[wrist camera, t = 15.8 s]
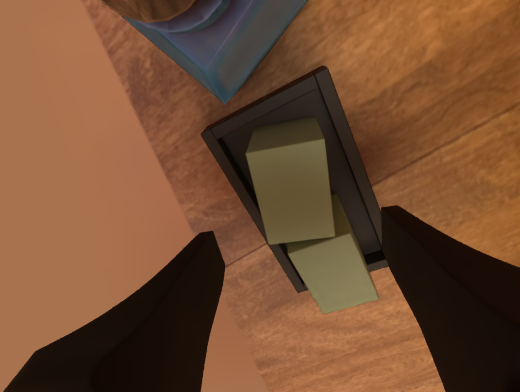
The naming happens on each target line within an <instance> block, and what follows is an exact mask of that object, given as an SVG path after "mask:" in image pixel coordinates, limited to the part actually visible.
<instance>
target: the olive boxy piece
mask: <svg viewBox="0 0 520 392" xmlns="http://www.w3.org/2000/svg"><path fill="white" fill-rule="evenodd" d="M246 157H247V161H248V165H249V169H250V173H251V177H252V181H253V185H254V189H255V193H256V196H257V200H258V204H259V208H260V212H261V216H262V220H263V224H264V228H265V232H266V236H267V240H268V244H269V245H271V244H279V243H287V242H295V241H303V240H311V239H319V238H327V237H334V236H335V228H334V219H333V210H332V201H331V192H330V183H329V174H328V165H327V156H326V147H325V139H324V137H323V134H322V132H321V130H320V127H319V125H318V123H317V121H316V118H315V116H310V117H305V118H300V119H295V120H290V121H285V122H280V123H275V124H270V125H265V126H260V127H255V128H254V131H253V134H252V137H251V140H250V143H249V145H248V148H247V151H246Z"/></svg>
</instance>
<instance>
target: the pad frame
mask: <svg viewBox="0 0 520 392" xmlns="http://www.w3.org/2000/svg"><path fill="white" fill-rule="evenodd" d="M310 116H315V118H316V121H317V123H318V125H319V127H320V130H321V132H322V134H323V137H324V139H325V147H326V156H327V165H328V174H329V183H330V192H331V195H332V194H334V193H336V194H337V195H338V198H339V200H340V202H341V205H342V207H343V209H344V212H345V214H346V216H347V218H348V221H349V223H350V225H351V228H352V230H353V232H354V235H355V237H356V239H357V241H358V244H359V246H360V248H361V251H362V253H363V256H364V259H365V261H366V264H367V267H368V269H369V272H371V271H375V270H378V269H381V268H385V267H388V266H389V265H388V263H387V260H386V258H385V255H384V252H383V249H382V227H381V211H380V209H379V206H378V203H377V201H376V198H375V195H374V192H373V190H372V187H371V184H370V181H369V179H368V176H367V173H366V171H365V168H364V165H363V162H362V160H361V157H360V154H359V152H358V149H357V146H356V143H355V141H354V138H353V135H352V133H351V130H350V127H349V124H348V122H347V119H346V116H345V114H344V111H343V108H342V105H341V103H340V100H339V97H338V95H337V92H336V89H335V86H334V84H333V81H332V78H331V75H330V73H329V70H328V68H327V67H325V66H321V67H319V68H317V69H315V70H313V71H312V72H310V73H308V74H306V75H304V76H302V77H300V78H298V79H296V80H294V81H293V82H291V83H289V84H287V85H285V86H283V87H281V88H279V89H277V90H276V91H274V92H272V93H270V94H268V95H266V96H264V97H262V98H260V99H259V100H257V101H255V102H253V103H251V104H249V105H247V106H245V107H243V108H241V109H240V110H238V111H236V112H234V113H232V114H230V115H228V116H226V117H224V118H223V119H221V120H219V121H217V122H215V123H213V124H211V125H209V126H207V127H206V128H205V130H204V131H203V132H202V133H201V136H202V138H203V139H204V141H205V143H206V144H207V146H208V147H209V149H210V151H211V152H212V154H213V156H214V157H215V159H216V160H217V162H218V164H219V165H220V167H221V169H222V170H223V172H224V173H225V175H226V177H227V178H228V180H229V182H230V183H231V185H232V187H233V188H234V190H235V191H236V193H237V195H238V196H239V198H240V200H241V201H242V203H243V204H244V206H245V208H246V209H247V211H248V213H249V214H250V216H251V217H252V219H253V221H254V222H255V224H256V226H257V227H258V229H259V230H260V232H261V234H262V235H263V237H264V239H265V240H266V242H267V244H268V240H267V236H266V232H265V228H264V224H263V220H262V216H261V212H260V208H259V204H258V200H257V196H256V193H255V189H254V185H253V181H252V177H251V173H250V169H249V165H248V161H247V157H246V151H247V148H248V145H249V143H250V140H251V137H252V134H253V131H254V128H255V127H260V126H265V125H270V124H275V123H280V122H285V121H290V120H295V119H300V118H305V117H310ZM268 245H269V244H268ZM269 247H270V248H271V250H272V252H273V253H274V255H275V257H276V258H277V260H278V261H279V263H280V265H281V266H282V268H283V270H284V271H285V273H286V274H287V276H288V278H289V279H290V281H291V283H292V284H293V286H294V287H295V289H296V291H297V292H298V293H300V292H303V291H306V290H308V288H307V286H306V284H305V283H304V281H303V279H302V278H301V276H300V274H299V273H298V271H297V269H296V267H295V266H294V264H293V262H292V261H291V259H290V257H289V255H288V242H287V243H279V244H271V245H269Z"/></svg>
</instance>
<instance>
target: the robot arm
mask: <svg viewBox="0 0 520 392" xmlns="http://www.w3.org/2000/svg"><path fill="white" fill-rule="evenodd" d="M381 227H382V249H383V252H384V255H385V258H386V260H387V263H388V265H389V268H390V270H391V272H392V274H393V276H394V278H395V280H396V282H397V284H398V286H399V287H400V289H401V291H402V293H403V295H404V297H405V299H406V301H407V303H408V304H409V306H410V308H411V310H412V312H413V314H414V316H415V318H416V320H417V322H418V324H419V326H420V328H421V330H422V333H423V335H424V338H425V340H426V343H427V345H428V348H429V350H430V352H431V355H432V357H433V360H434V363H435V365H436V368H437V370H438V373H439V375H440V378H441V381H442V383H443V386H444V389H445V391H446V392H520V268H519V267H516V266H514V265H511V264H508V263H506V262H503V261H501V260H498V259H496V258H494V257H491V256H489V255H487V254H484V253H482V252H480V251H478V250H475V249H473V248H471V247H469V246H467V245H465V244H463V243H461V242H459V241H457V240H455V239H453V238H451V237H449V236H448V235H446V234H444V233H442V232H440V231H439V230H437V229H435V228H433V227H432V226H430V225H428V224H427V223H425V222H423V221H422V220H420V219H419V218H417V217H415V216H414V215H412V214H411V213H409V212H407V211H406V210H404V209H403V208H401V207H399V206H398V205H396V206H389V207H381ZM224 272H225V263H224V260H223V258H222V255H221V252H220V249H219V247H218V244H217V241H216V238H215V235H214V233H213V231H208V232H201V233H199V234H198V235H197V236H196V237H195V238H194V239H193V240H192V241H191V242H190V243H189V244H188V245H187V246H186V247H185V248H184V249H183V250H182V251H181V252H180V253H179V254H178V255H176V257H175V258H173V259H172V260H171V261H170V262H169V263H168V264H167V265H166V266H165V267H164V268H163V269H162V270H161V271H160V272H158V273H157V274H156V275H155V276H154V277H153V278H152V279H151V280H149V281H148V282H147V283H146V284H145V285H143V286H142V287H141V288H140V289H139V290H137V291H136V292H134V293H133V294H132V295H130V296H129V297H128V298H126V299H125V300H124V301H122V302H120V303H119V304H118V305H116V306H115V307H113V308H112V309H110V310H109V311H108V312H106V313H104V314H103V315H101V316H99V317H98V318H96V319H94V320H93V321H91V322H90V323H88V324H86V325H84V326H83V327H81V328H79V329H77V330H76V331H74V332H72V333H70V334H68V335H66V336H64V337H62V338H60V339H59V340H57V341H55V342H53V343H51V344H49V345H47V346H45V347H43V348H41V349H39V350H37V351H35V352H34V353H33V355H32V356H31V357H30V359H29V360H28V361H27V362H26V364H25V365H24V366H23V367H22V369H21V370H20V371H19V373H18V374H17V375H16V376H15V378H14V379H13V380H12V381H11V383H10V384H9V385H8V387H7V388H6V389H5V390H4V392H201V385H202V377H203V370H204V364H205V358H206V352H207V345H208V341H209V336H210V332H211V328H212V324H213V321H214V317H215V313H216V310H217V306H218V302H219V298H220V295H221V291H222V287H223V280H224Z"/></svg>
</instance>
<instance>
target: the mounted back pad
mask: <svg viewBox="0 0 520 392" xmlns="http://www.w3.org/2000/svg"><path fill="white" fill-rule="evenodd" d="M331 201H332V210H333V219H334V228H335V236H334V237H327V238H319V239H311V240H303V241H295V242H288V255H289V257H290V259H291V261H292V262H293V264H294V266H295V267H296V269H297V271H298V273H299V274H300V276H301V278H302V279H303V281H304V283H305V284H306V286H307V288H308V290H309V291H310V293H311V295H312V296H313V298H314V300H315V301H316V303H317V305H318V307H319V308H320V310H321V312H322V313H323V314H326V313H330V312H334V311H337V310H341V309H345V308H349V307H353V306H356V305H360V304H364V303H368V302H372V301H375V300H379V296H378V293H377V290H376V288H375V285H374V282H373V280H372V277H371V275H370V272H369V269H368V267H367V264H366V261H365V259H364V256H363V253H362V251H361V248H360V246H359V244H358V241H357V239H356V237H355V235H354V232H353V230H352V228H351V225H350V223H349V221H348V218H347V216H346V214H345V212H344V209H343V207H342V205H341V202H340V200H339V198H338V195H337V194H336V193H334V194H332V195H331Z"/></svg>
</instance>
